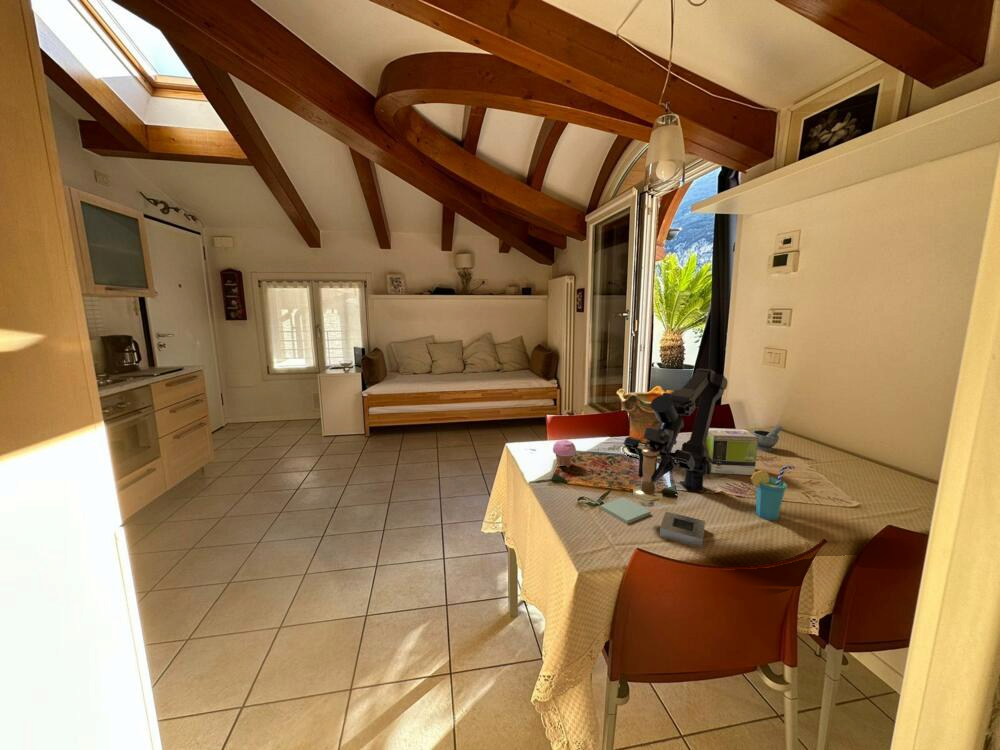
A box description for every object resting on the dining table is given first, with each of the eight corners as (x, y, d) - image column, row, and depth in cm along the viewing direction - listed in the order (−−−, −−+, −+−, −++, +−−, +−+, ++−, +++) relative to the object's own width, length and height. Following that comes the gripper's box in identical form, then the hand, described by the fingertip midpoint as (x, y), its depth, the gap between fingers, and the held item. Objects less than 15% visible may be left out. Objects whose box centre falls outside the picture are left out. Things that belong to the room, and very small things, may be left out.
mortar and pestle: (745, 447, 175) (748, 420, 173) (758, 443, 179) (761, 417, 177) (772, 455, 165) (776, 427, 163) (785, 452, 170) (789, 424, 168)
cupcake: (575, 471, 148) (576, 445, 146) (551, 469, 149) (552, 443, 148) (575, 461, 157) (576, 437, 155) (552, 460, 158) (553, 435, 156)
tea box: (742, 465, 155) (746, 428, 152) (754, 476, 145) (759, 437, 142) (700, 463, 157) (704, 426, 154) (710, 473, 147) (714, 434, 144)
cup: (774, 506, 123) (781, 459, 121) (800, 518, 116) (807, 469, 113) (738, 512, 119) (744, 464, 117) (762, 525, 112) (769, 475, 110)
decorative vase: (602, 446, 172) (609, 382, 168) (645, 443, 181) (653, 382, 176) (634, 464, 153) (643, 393, 149) (681, 460, 162) (690, 392, 157)
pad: (623, 501, 125) (623, 497, 125) (650, 515, 117) (650, 511, 116) (600, 510, 120) (600, 505, 120) (626, 525, 111) (627, 520, 111)
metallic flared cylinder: (632, 495, 117) (635, 443, 114) (660, 499, 115) (664, 446, 112) (632, 507, 110) (636, 453, 107) (662, 512, 107) (667, 456, 105)
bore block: (664, 521, 114) (665, 511, 113) (704, 531, 109) (705, 520, 109) (659, 538, 105) (660, 527, 105) (701, 550, 101) (702, 539, 100)
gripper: (628, 409, 117) (606, 455, 112) (694, 423, 104) (672, 476, 98) (640, 430, 124) (619, 473, 118) (703, 445, 111) (683, 495, 105)
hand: (646, 479), depth 110 cm, fingers closed on metallic flared cylinder, 4 cm apart
